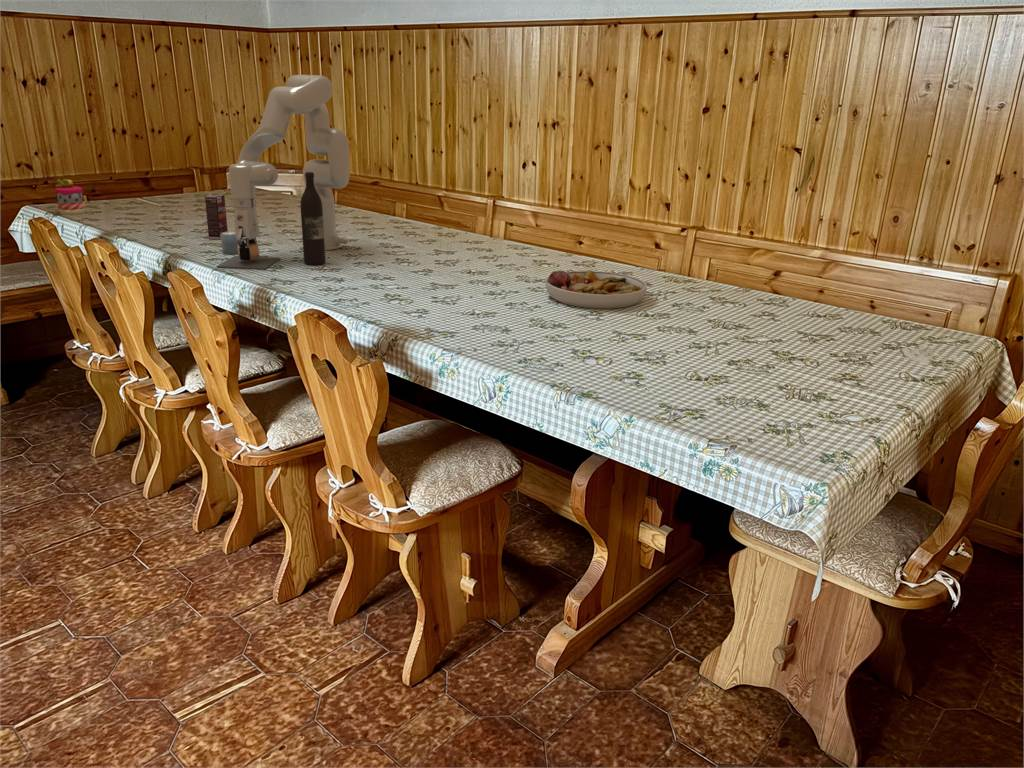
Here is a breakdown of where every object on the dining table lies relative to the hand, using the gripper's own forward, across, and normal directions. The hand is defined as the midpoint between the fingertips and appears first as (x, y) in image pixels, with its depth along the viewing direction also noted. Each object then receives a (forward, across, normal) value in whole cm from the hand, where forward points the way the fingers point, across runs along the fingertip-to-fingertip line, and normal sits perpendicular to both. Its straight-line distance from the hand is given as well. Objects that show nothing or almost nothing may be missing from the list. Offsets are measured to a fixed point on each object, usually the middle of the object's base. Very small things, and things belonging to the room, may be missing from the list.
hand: (249, 257), depth 263 cm
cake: (+2, +85, +108) cm, 137 cm away
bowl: (+3, -28, -114) cm, 117 cm away
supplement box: (+2, +43, +27) cm, 51 cm away
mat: (+2, 0, 0) cm, 2 cm away
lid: (0, 0, 0) cm, 0 cm away
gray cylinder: (+2, +16, +12) cm, 20 cm away
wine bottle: (+2, +4, -21) cm, 22 cm away
